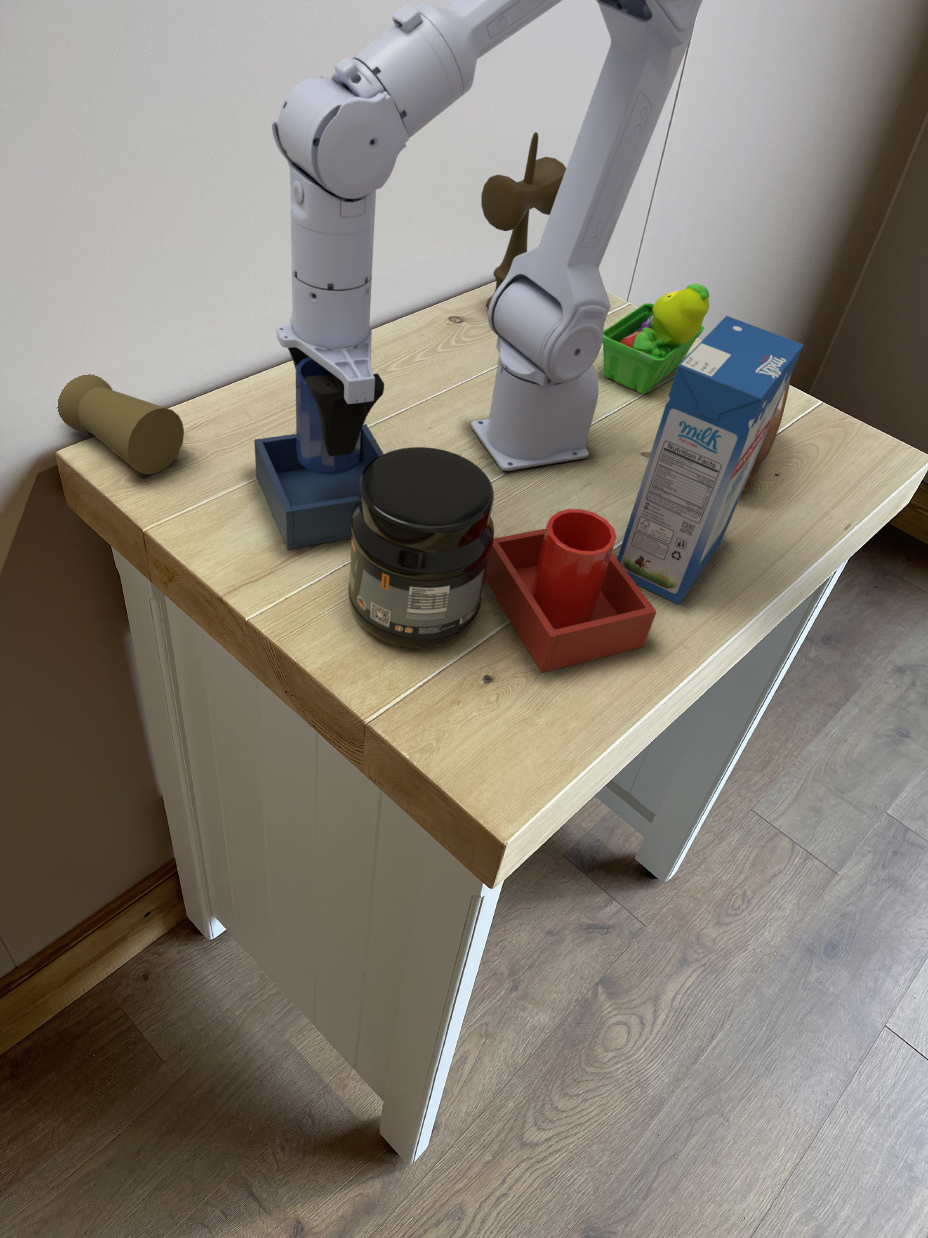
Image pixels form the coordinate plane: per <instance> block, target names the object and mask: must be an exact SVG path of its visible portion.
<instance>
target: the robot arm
mask: <svg viewBox="0 0 928 1238" xmlns="http://www.w3.org/2000/svg"><path fill="white" fill-rule="evenodd" d="M562 1H563V0H455V1H454V2H452V3H451V4H450V5H449V6H448V7H446V8H442V7H440V6H437V5H434V4H431V3H427V2H426V3H425V2H424V3H420V4H419V5H417V6H416V7H415V8H414V7H412V6H410V5H408V4H405V5H403V6H402V7H401V8H400V9H399V10H397V11H396V12H394V13H393V14H392V16H391V19H392V22H393V25H392V26H391V27H389V28H388V29H387V30H385V31H384V32H383V33H382V34H381V35H379V36H378V37H377V38H376V39H374V40H373V41H372V42H371V43H369V44H368V45H367V46H365V47H364V48H363V49H362V50H360V51H358V53H356V55H354V56H353V57H352V58H350V59H349V58H348V57H344V58H342V59H341V60H340V61H339V62H337V63H336V64H334V72H333V73H332V75H331V77H329V76H324V75H320V76H319V78H318V77H316V76H312V77H308V78H305V79H303V80H302V81H300V82H299V83H297V84H296V85H295V86H294V87H293V88H292V89H291V90H290V91H289V93H287V96H286V97H285V99H284V102H283V103H282V106H281V107H280V111H279V116H278V120H277V121H273V122H272V123H271V130H272V136H273V140H274V142H275V145H276V147H277V149H278V151H279V152H280V154H281V155H282V156H283V157H284V159H285V160H286V162H287V164H288V167H289V182H290V183H289V185H290V246H291V247H290V250H291V251H290V253H291V255H290V256H291V258H290V259H291V316H290V323H289V324H287V325H281V326H278V327H277V328H276V339H277V341H278V342H279V344H280V345H281V347H283V348H286V349H287V350H288V352H289V354H290V357H291V359H292V363H293V366H294V369H295V370H296V366H297V365H298V364H299V363H300V362H301V360H303V359H305V358H308V357H310V358H312V359H313V360H315V361H316V362H317V363H319V364H320V365H321V366H323V367H324V368H325V369H327V370H328V371H329V372H331V373H332V375H331V374H327V375H318V376H310V377H306V378H305V382H306V384H307V386H308V387H309V389H310V391H311V393H312V395H313V396H314V399H315V401H316V404H317V407H318V410H319V414H320V419H321V426H322V434H323V440H324V444H325V447H326V450H327V453H328V454H329V456H337V455H344V454H351V453H353V452H354V449H355V447H356V444H357V441H358V438H359V435H360V432H361V429H362V426H363V425H365V421H366V419H367V417H368V415H369V413H370V412H371V410H372V408H373V407H374V406H375V405H376V403H377V402H378V400H379V399H380V398H381V397H382V396H383V395H384V392H385V383H384V381H383V379H382V377H381V376H380V374H379V373H373V371H372V366H371V365H372V364H371V362H372V342H373V341H372V339H373V331H372V328H371V325H370V324H371V323H370V321H371V302H372V301H371V300H372V284H373V282H372V281H373V257H374V239H375V238H374V237H375V219H376V198H377V190H379V189H381V188H383V186H384V185H385V184H386V183H387V181H388V180H389V178H390V176H391V175H392V173H393V171H394V168H395V165H396V162H397V159H398V156H399V155H400V153H401V152H402V151H403V150H404V149H405V148H406V147H407V144H406V143H407V142H408V141H409V140H410V138H412V137H413V136H414V135H415V134H417V133H419V131H420V130H422V129H423V128H424V127H425V126H427V125H428V124H429V123H430V122H432V121H433V120H434V119H435V118H437V117H438V116H439V115H440V114H442V113H443V112H445V110H446V109H448V108H449V107H450V106H452V105H453V104H454V103H456V102H457V101H458V100H459V99H460V98H461V97H463V96H464V95H465V94H467V93H468V92H469V91H470V90H471V89H472V87H473V84H474V80H475V75H476V68H477V62H478V59H480V58H482V57H483V56H484V55H485V54H487V53H488V52H490V51H492V50H493V49H494V48H496V47H497V46H499V45H501V43H503V42H504V41H506V40H507V39H509V38H510V37H512V36H513V35H515V34H516V33H518V32H519V31H521V30H523V28H525V27H526V26H528V25H530V24H531V23H532V22H533V21H535V20H536V19H538V18H539V17H541V16H542V15H544V14H545V13H547V12H548V11H550V10H551V9H552V8H554V7H555V6H557V5H558V4H560V3H561V2H562ZM595 1H596V3H597V4H598V7H599V10H600V13H601V15H602V19H603V21H604V24H605V26H606V29H607V31H608V35H609V37H610V45H609V48H608V51H607V54H606V56H605V59H604V61H603V64H602V67H601V71H600V73H599V76H598V79H597V82H596V84H595V87H594V89H593V93H592V95H591V98H590V101H589V104H588V106H587V110H586V113H585V115H584V118H583V121H582V123H581V125H580V129H579V132H578V135H577V137H576V140H575V143H574V146H573V149H572V151H571V154H570V157H569V160H568V163H567V166H566V171H565V174H564V177H563V179H562V182H561V185H560V188H559V190H558V193H557V196H556V199H555V202H554V204H553V207H552V210H551V213H550V215H548V218H547V221H546V224H545V227H544V229H543V233H542V235H541V238H540V242H539V244H538V246H536V247H535V248H532V249H530V250H527V252H525V253H523V254H520V255H518V256H516V257H515V258H514V259H513V262H512V265H511V268H510V270H509V273H508V275H507V277H506V278H505V280H504V281H503V282H502V284H501V285H500V286H499V288H498V289H497V290H496V292H495V291H494V292H495V293H494V292H493V294H494V295H493V294H492V295H493V297H492V299H491V302H490V305H489V310H488V309H487V321H488V325H489V328H490V329H491V331H492V332H493V333H494V334H495V335H496V336H497V338H496V343H495V348H496V349H497V350H498V359H497V367H496V373H495V378H494V385H493V390H492V398H491V404H490V410H489V416H488V418H485V419H477V420H473V421H471V422H470V427H471V429H472V430H473V432H474V433H475V434H476V436H477V437H478V439H479V440H480V442H481V443H482V444H483V446H484V448H485V449H486V451H487V452H488V453H489V454H490V456H491V457H492V459H493V460H494V462H495V463H496V464H497V466H498V467H499V469H500V470H501V471H504V472H509V471H515V470H516V471H517V470H521V469H528V468H532V467H539V466H546V465H553V464H558V463H564V462H570V461H577V460H582V459H583V460H584V459H586V458H588V457H589V454H590V452H589V451H588V450H587V449H586V447H587V446H586V445H587V444H588V443H587V442H588V439H589V435H590V431H591V427H592V422H593V421H594V420H593V419H594V415H595V411H596V407H597V404H598V399H599V378H598V373H597V371H596V368H595V366H594V363H595V362H596V360H597V358H598V356H599V354H600V352H601V349H602V347H603V343H602V341H603V331H604V327H605V323H606V321H607V320H606V319H607V317H608V314H609V312H610V309H611V303H610V299H609V295H608V293H607V290H606V286H605V284H604V281H603V279H602V275H601V272H600V266H601V263H602V261H603V258H604V256H605V253H606V251H607V249H608V247H609V244H610V241H611V238H612V236H613V234H614V232H615V229H616V226H617V224H618V221H619V219H620V216H621V214H622V211H623V208H624V206H625V204H626V201H627V199H628V196H629V194H630V191H631V189H632V186H633V184H634V181H635V179H636V176H637V174H638V172H639V169H640V166H641V164H642V161H643V159H644V156H645V154H646V151H647V149H648V146H649V143H650V141H651V139H652V137H653V134H654V132H655V129H656V126H657V124H658V121H659V119H660V117H661V114H662V111H663V109H664V107H665V104H666V102H667V100H668V97H669V94H670V92H671V89H672V86H673V84H674V81H675V79H676V77H677V75H678V72H679V69H680V67H681V64H682V61H683V59H684V57H685V54H686V51H687V49H688V46H689V44H690V41H691V38H692V34H693V30H694V25H695V20H696V18H697V15H698V12H699V11H700V8H701V5H702V3H703V0H595Z"/></svg>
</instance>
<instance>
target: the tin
mask: <svg viewBox="0 0 928 1238" xmlns="http://www.w3.org/2000/svg"><path fill="white" fill-rule="evenodd" d="M790 384H791V382H790V380H789V381H788V383H787V385H786V388H785V390H784V393H783V395H782V397H781V400H780V402H779V405H778V407H777V409H776V412H775V414H774V417H773V419H772V421H771V424H770V426H769V429H768V431H767V433H766V436H765V438H764V441H763V443H762V445H761V448H760V450H759V453H758V455H757V457H756V460H755V462H754V465H753V467H752V469H751V472H750V474H749V477H748V479H747V481H746V484H745V486H744V489H743V491H742V493H743V492H746V493H747V492H748V491H749V490H750V489H751V488H752V486H753V485H754V481H755V478H756V476H757V473H758V471H759V469H760V467H761V466H762V465H763V462H764V461H766V458H767V457H768V455H769V454H770V452H771V449H772V447H773V444H774V442H775V440H776V438H777V434H778V432H779V429H780V427H781V423H782V419H783V417H784V412H785V407H786V404H787V399H788V395H789V389H790Z"/></svg>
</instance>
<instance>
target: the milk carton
mask: <svg viewBox="0 0 928 1238" xmlns="http://www.w3.org/2000/svg"><path fill="white" fill-rule="evenodd" d="M803 347H804V343H801V342H799V341H795V340H793V339H790V338H788V337H785V336H782V335H780V334H777V333H775V332H772V331H769V330H766V329H765V328H764V329H763V328H761V327H758V326H755V325H753V324H750V323H747V322H745V321H742V320H739V319H737V318H734V317H732V316H729V315H725V316H724V318H723V319H722V320H720V321H719V323H718V324H717V325H716V326H715V327H714V328H713V329H712V330H710V332H709V333H707V335H706V336H705V337H703V339H702V340H701V341H700V342H699V343H698V344H697V345H696V346H695V347H694V348H693V349H692V350H691V351H690V353H688V354H687V355H686V356H685V357H684V359H683V360H682V362H681V363H680V364H679V365H678V367H677V368H676V371H675V375H674V377H673V381H672V385H671V388H670V390H669V394H668V397H667V399H666V403H665V406H664V409H663V413H662V415H661V419H660V422H659V425H658V429H657V432H656V435H655V438H654V440H653V444H652V447H651V450H650V454H649V457H648V460H647V463H646V467H645V470H644V473H643V475H642V479H641V482H640V485H639V489H638V491H637V495H636V498H635V501H634V504H633V508H632V510H631V514H630V517H629V521H628V523H627V527H626V530H625V533H624V535H623V539H622V541H621V542H622V543H621V546H620V548H619V552H618V555H617V557H616V558H617V560H618V561H619V562H620V564H621V565H622V566H623V568H624V569H625V570H626V572H627V573H628V574H629V576H630V577H631V578H632V580H633V581H634V582H635V584H636V585H637V586H638V587H641V588H643V589H645V590H648V591H649V592H651V593H654V594H655V595H658V596H659V597H662V598H663V599H666V600H668V601H670V602H672V603H674V604H676V605H678V606H679V605H681V603H682V601H683V600H684V598H685V597H686V596H687V594H688V593H689V591H690V589H691V588H692V586H694V584H695V582H696V581H697V579H698V578H699V577H700V575H701V574H702V572H703V571H704V569H705V568H706V566H707V565H708V563H709V562H710V560H711V559H712V558H713V556H714V554H715V553H716V552H717V550H718V549H719V547H720V546H721V544H722V541H723V538H724V536H725V534H726V532H727V530H728V527H729V524H730V522H731V520H732V517H733V515H734V513H735V510H736V508H737V506H738V503H739V500H740V498H741V495H742V493H743V489H744V486H745V484H746V481H747V479H748V477H749V474H750V472H751V469H752V467H753V465H754V462H755V460H756V457H757V455H758V453H759V450H760V448H761V445H762V443H763V441H764V438H765V436H766V433H767V431H768V429H769V426H770V424H771V421H772V419H773V417H774V414H775V412H776V409H777V407H778V405H779V402H780V400H781V397H782V395H783V393H784V390H785V388H786V385H787V383H788V381H790V379H791V376H792V373H793V371H794V369H795V366H796V364H797V362H798V360H799V357H800V354H801V352H802V350H803Z"/></svg>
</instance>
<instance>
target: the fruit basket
mask: <svg viewBox="0 0 928 1238" xmlns="http://www.w3.org/2000/svg"><path fill="white" fill-rule="evenodd" d="M709 299H710V292H709V290H708V288H707V287H706V286H705V285H704V284H700V283H691V284H688V285H687V286H686V287H685V288H684V289H681V290H675V291H674V290H673V291H671V292H668V293H665V294H663V295H661V296H660V297H658V298H657V299H656V300H655V302H654V303H649V302H645V303H643V304H641V305H640V306H639V307H637V308H636V309H634V310H633V311H631V312H630V313H628V314H627V315H625V316H624V317H622V318H620V319H619V320H618V321H616V322H615V323H614V324H612V325H610V326H609V327H607V328H605V329H603V341H602V349H603V350H602V352H603V353H602V354H603V377H605V378H607V379H611V380H613V381H614V382H616V383H618V384H620V385H622V386H624V387H626V388H629V389H631V390H634V391H637V392H638V393H639V394H641V395H642V394H643V395H645V394H647V393H648V392H649V391H650V390H651V389H652V388H653V387H655V386H656V385H657V384H659V383H660V382H661V380H662V379H665V378H666V377H667V376H669V375H670V374H671V372H672V371H675V370H677V368H678V365H679V364H680V363H681V362H682V361H683V360H684V359H685V358H686V357H687V355H688V353H689V351H690V349H691V348H692V346H693V345H694V343H695V342H696V340H697V339H698V338H699V337H700V336H701V334H702V333H703V332H704V330H705V326H704V325H703V323H704V319H705V317H706V315H707V314H708V312H709V309H710V300H709Z"/></svg>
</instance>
